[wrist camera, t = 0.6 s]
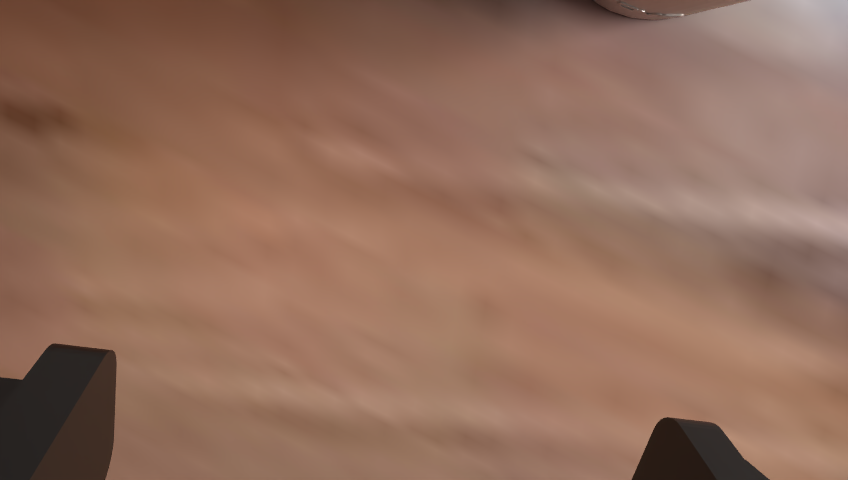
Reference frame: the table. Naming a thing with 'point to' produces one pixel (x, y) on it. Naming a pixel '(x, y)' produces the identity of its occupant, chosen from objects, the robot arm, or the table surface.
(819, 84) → the table surface
